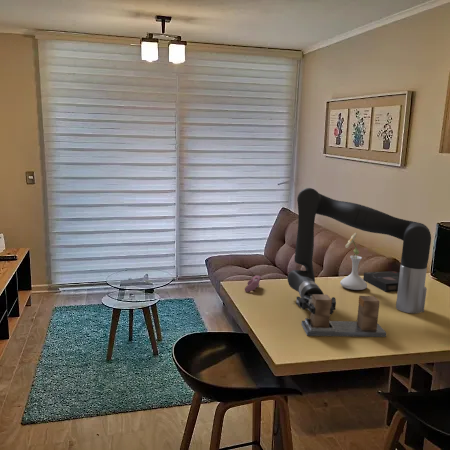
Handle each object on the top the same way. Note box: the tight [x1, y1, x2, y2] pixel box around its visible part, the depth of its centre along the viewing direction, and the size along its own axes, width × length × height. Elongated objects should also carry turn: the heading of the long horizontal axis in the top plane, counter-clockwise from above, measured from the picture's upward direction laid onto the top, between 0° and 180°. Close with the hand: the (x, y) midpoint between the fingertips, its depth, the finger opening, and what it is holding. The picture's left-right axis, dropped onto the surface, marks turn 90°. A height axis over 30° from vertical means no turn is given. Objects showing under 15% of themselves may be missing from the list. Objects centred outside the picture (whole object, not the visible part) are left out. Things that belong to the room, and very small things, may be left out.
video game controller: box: [244, 274, 262, 293], centre depth 195 cm, size 10×5×7 cm, turn 169°
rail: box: [301, 317, 387, 338], centre depth 156 cm, size 26×9×2 cm, turn 93°
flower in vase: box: [339, 232, 368, 291], centre depth 199 cm, size 13×11×25 cm
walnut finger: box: [310, 293, 332, 328], centre depth 154 cm, size 5×5×10 cm
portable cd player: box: [362, 270, 400, 293], centre depth 208 cm, size 16×17×4 cm
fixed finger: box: [356, 295, 381, 330], centre depth 155 cm, size 5×5×10 cm
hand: (322, 311), depth 151 cm, fingers closed on walnut finger, 5 cm apart
